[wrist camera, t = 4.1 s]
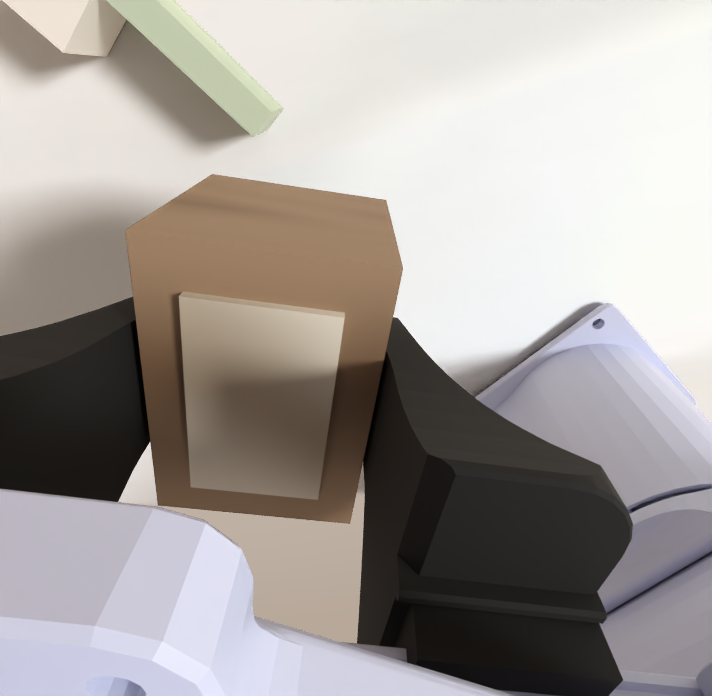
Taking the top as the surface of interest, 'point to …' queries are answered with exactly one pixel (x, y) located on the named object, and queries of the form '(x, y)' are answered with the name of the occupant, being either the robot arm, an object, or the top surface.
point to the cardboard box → (262, 343)
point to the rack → (168, 33)
